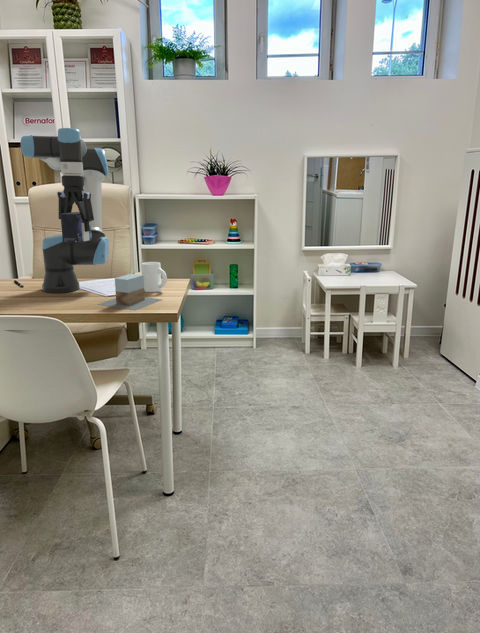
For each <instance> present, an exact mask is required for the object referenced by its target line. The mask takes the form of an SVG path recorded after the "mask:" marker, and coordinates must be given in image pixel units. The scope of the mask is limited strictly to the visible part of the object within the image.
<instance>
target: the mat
mask: <svg viewBox="0 0 480 633" xmlns="http://www.w3.org/2000/svg"><path fill="white" fill-rule="evenodd" d="M163 300H164V299H163V298H162V299H161V298H160V299H159V298H154V297H153V298H152V297H146V296H145V300H144V301H141V302H138V303H135V304H133V305H130V306H127V305H120V304H116V297H115V298H113V299H110V300H106V301H103V302H100V303H97V305H98V306H106V307H110V308H111V307H112V308H116V309H117V308H118V309H123V310H130V311H131V310H132V311H138V310H140V309H142V308H145V307H148V306H151V305H153V304H155V303H158V302H160V301H163Z"/></svg>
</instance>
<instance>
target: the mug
mask: <svg viewBox="0 0 480 633" xmlns="http://www.w3.org/2000/svg"><path fill="white" fill-rule="evenodd" d="M141 275H144V292H146V293H156V292H160V293H161V292H162V288H164V287H165V286H166V284H167V283H168V277H167V273H166V271H165V270H163V269H162V267H161V262H160V261H145V262H142V263H141Z"/></svg>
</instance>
